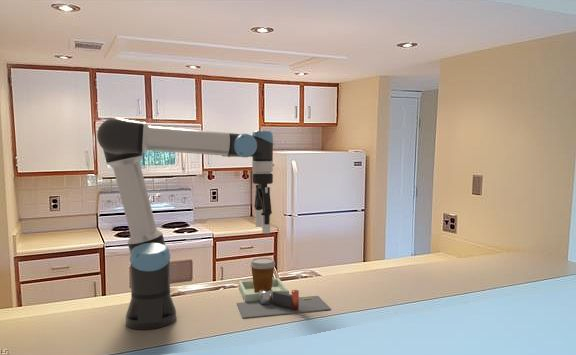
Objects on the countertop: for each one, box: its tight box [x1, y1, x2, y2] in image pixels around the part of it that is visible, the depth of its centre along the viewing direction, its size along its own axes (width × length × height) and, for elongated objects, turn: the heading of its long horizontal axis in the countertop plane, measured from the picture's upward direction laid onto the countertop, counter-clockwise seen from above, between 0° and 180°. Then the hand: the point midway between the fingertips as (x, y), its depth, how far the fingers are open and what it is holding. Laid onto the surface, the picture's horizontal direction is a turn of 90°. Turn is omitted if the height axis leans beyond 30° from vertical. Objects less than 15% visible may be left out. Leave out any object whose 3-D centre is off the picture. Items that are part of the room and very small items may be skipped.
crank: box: [273, 289, 300, 310], centre depth 142 cm, size 10×2×6 cm, turn 57°
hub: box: [259, 289, 311, 305], centre depth 149 cm, size 19×5×4 cm, turn 105°
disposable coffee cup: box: [249, 257, 276, 293], centre depth 158 cm, size 10×10×12 cm
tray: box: [238, 277, 290, 302], centre depth 158 cm, size 16×16×3 cm
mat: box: [236, 295, 332, 319], centre depth 144 cm, size 30×14×1 cm, turn 105°
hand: (262, 230), depth 156 cm, fingers open, 13 cm apart
